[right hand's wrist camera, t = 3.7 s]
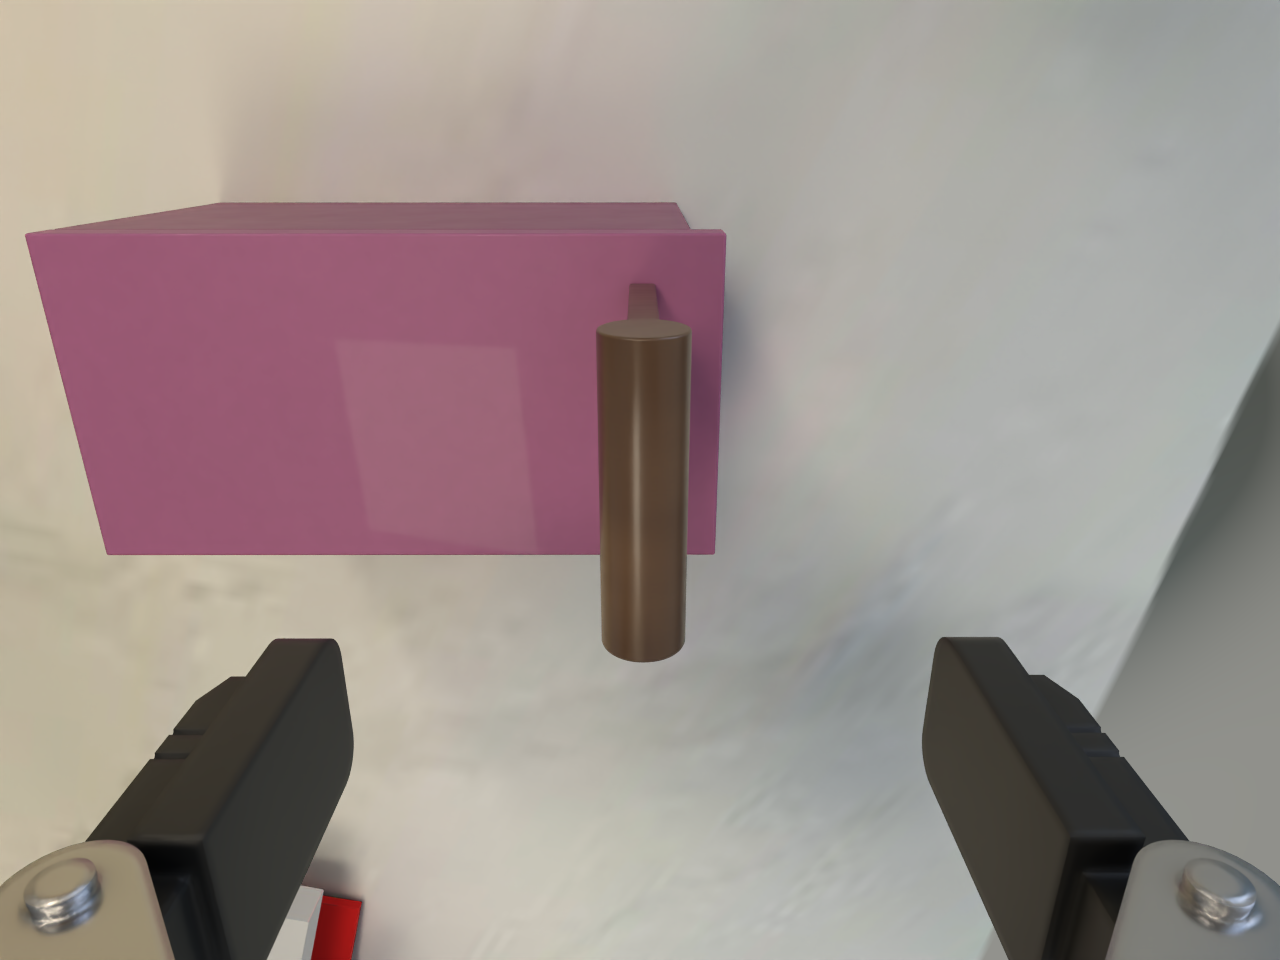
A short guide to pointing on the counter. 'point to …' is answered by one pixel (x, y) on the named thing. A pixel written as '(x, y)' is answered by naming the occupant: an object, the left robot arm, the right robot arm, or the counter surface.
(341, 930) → the toy
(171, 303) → the lid
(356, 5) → the counter surface
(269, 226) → the chest
